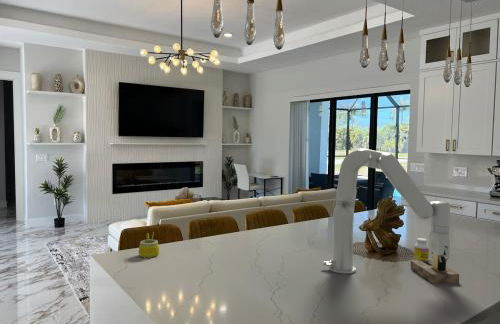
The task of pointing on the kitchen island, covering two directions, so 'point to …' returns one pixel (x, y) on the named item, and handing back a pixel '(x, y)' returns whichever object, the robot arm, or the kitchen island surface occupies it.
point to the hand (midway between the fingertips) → (439, 268)
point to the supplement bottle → (421, 250)
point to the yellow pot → (149, 248)
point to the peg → (436, 263)
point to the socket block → (434, 277)
